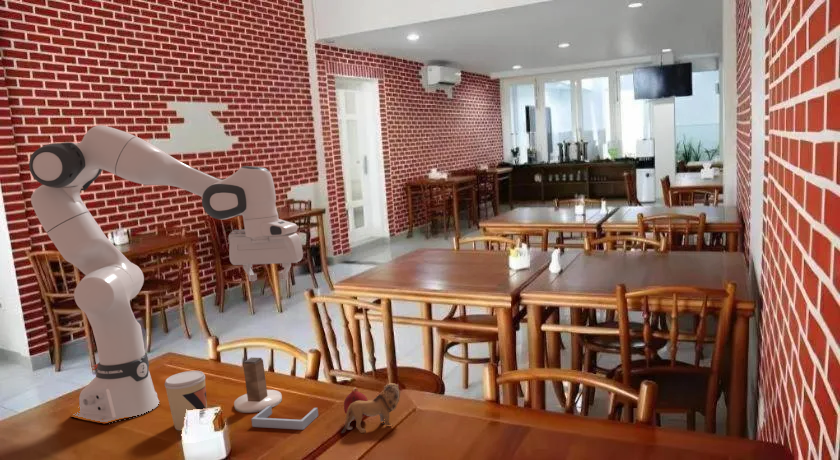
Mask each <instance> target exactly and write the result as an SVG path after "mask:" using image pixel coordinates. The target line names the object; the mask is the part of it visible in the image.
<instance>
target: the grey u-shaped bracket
mask: <svg viewBox="0 0 840 460" xmlns="http://www.w3.org/2000/svg"><path fill="white" fill-rule="evenodd" d="M272 414H273V410H272V408H271V406H267V407H266V408H265V409H263V410H262V411H260V412H259V413H258V412H257V414H255V415H254V416H253V417H252V418H251V419H250V420H251V426H252V428H268V429H285V430H299V431H301V430H305V429H306V428H307V427H308V426H309V425H310V424H311V423H312V422H314V420H315V419H316V418H317V417H319V409H318V407H313V408H312V409H311V410H310V411H309V412H308V413H307V414H306V415H305V416H304V417H302V418H301V419H296V418H295V419H294V418H293V419H290V418H275V417H274V418H272V417H270V416H272Z"/></svg>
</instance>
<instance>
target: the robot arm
mask: <svg viewBox="0 0 840 460" xmlns="http://www.w3.org/2000/svg"><path fill="white" fill-rule="evenodd" d="M28 167H29V168H28V169H29V171H30V174H31V175H32V177H33V179H34V180H36V181H37V182H38V183H40V184H41V185H40V186H38V187H37V188H36V189H35V190H34V191H33V192H32V194H31V196H30V203H31V206H32V208H33V210H34V213H35V214H36V217H37V219H38V221H39V223H40V224H41V226H42V228H43V230H44V232H45V233H46V235H47V236H48V238H49V239H50V240H51V242H52V244H54V246H55V248H56V249H57V250H58V252H59V253H60V255H61V257H62V258H63V259H64V260H65V261H66V262H67V263H69V264H71V265H73V266H74V267H76V268H77V269H78V270H79V271H80V272H81V273H82V274H83V275H85V276H84V277H83V278H82V279H81V280H80V281H79V282H78V284H76V287H75V289H74V294H73V297H74V301H75V303H76V305H77V307H78V308H79V309H80V310H81V311H82V312H84V313H85V315H86V318H87V320H88V322H89V324H90V326H91V329H92V331H93V335H94V339H95V343H96V349H97V354H98V363H96V364H93V365H92V366H91V368H92V369H91V370H92V371H94V370H96V372H95V377H94V378H93V379H92V380H91V381H90V382H89V383H88V384H87V385H86V386H85V387H84V388H83V389H82V390H81V391H80V393H79V397H78V399H79V407H80V411H79V412H80V413H78V412H77V414H76V413H75V414H76V415H75V414H73V415H75V416H78V417H83V418H86V419H91V420H95V421H100V422H108V421H111V420H115V419H119V418H124V417H132V416H136V417H138V416H137V415H139V416H142V415H144V413H145V414H147V413H149V412H151V411H153V410H155V409H156V408H157V407H159V405H160V403H159V402H160V400H159V398H158V393H157V391H156V390H155V386H154V383H153V380H152V376H151V372H150V369H149V368H150V363H149V356H148V354H147V352H146V350H145V343H144V336H143V331H142V326H141V323H140V322H139V321H137V319H136V317H135V314H134V312H133V310H132V307H131V301H132V299H134V298H135V297H136V296H138V294H139V293H140V291H141V289H142V287H143V285H144V283H145V276H144V273H143V271H142V270H141V268H140V266H138V265H137V264H135V263H133V262H132V261H130V260H129V259H128V258H127V257H126V256H125V254H123V253H122V252H121V250H119V249H118V248H117V247H116V246H115V244H113V243H112V242H111V240H110V239H109V238H108V237H107V236H106V234H105V232H104V231H103V230H102V228H101V227H100V225H99V224H98V222H97V221H96V219H95V218H94V216H93V215H92V214H91V212H90V210H89V209H88V207H87V206H86V204H85V203H84V202H83V199H82V198H81V197H82V196H81V192H83V191H86V190H87V189H88V188H89V187H90V186H91V185H92V184H93V182H94V181H95V180H96V179H97V178H99V176H100V175H101V174H102V172H103V171H106V172H108V173H111V174H113V175H115V176H116V177H119V178H121V179H124V180H127V181H129V182H132V183H135V184H139V185H145V186H171V187H176V188H178V189H182V190H185V191H187V192H190V193H191V194H194V195H197V196H199V197H201V204H202V205H201V206H202V208H203V210H204V212H205V213H206V215H208V216H209V217H211V218H213V219H216V220H221V221H222V220H228V219H232V218H237V217H241V216H242V219H243V226H244V228H243V229H233V230H232V231H231V232H230V233H229V235H228V242H229V247H228V248H229V261H230V263H231V264H232V265H233V266H242V268H243V269H242V270H244V272H245V273H246V274H247V276H248V281H249V282H256V281H257V280H258V277H257V276H258V273H255V272H254V270H253V269H252V267H253V265H271V264H273V265H275V264H281V265H282V266H281V267H282V268H283V270H282V273H279V277H280V278H279V279H280V281H287V280H289V271H290V269H291V267H292V264H296V263H298V262H301V261H302V259H303V257H304V250H303V245H302V240H301V238H300V235H299V234H298V233H296V232H298V225H297V224H296V223H294V222H291V221H288V220H284V219H281V218H279V213H278V211H277V208H276V207H277V206H276V202H277V195H276V188H275V183H274V178H273V176H272V173H271V172H270V171H271V170H269V169H267V168H265V167H262V166H255V165H254V166H253V165H250V166H249V165H243V166H241V167H239V168H238V170H236V172H234V173H233V174H231V175H229V176H228V177H226V178H224V179H223V178H219V177H215V176H213V175H211V174H208V173H206V172H204V171H201V170H199V169H197V168H194V167H193V166H190V165H188V164H186V163H183V162H182V161H180V160H178V159H176V158H175V157H173V156H171V155H170V154H169V153H167V152H165V151H164V150H162V149H160V148H159V147H158V146H156V145H154V144H152V143H151V142H148V141H147V140H144V139H143V138H141V137H138V136H137V135H134V134H132V133H129V132H127V131H124V130H121V129H119V128H118V129H117V128H114V127H111V126H107V125H94V126H93V127H91V128H89V129H88V130H87V131H86V133H85V134H84V135H83V137H82V140H81V141H79V142H73V141H71V142H69V141H65V142H56V143H50V144H49V143H48V144H46V145H45V144H44V145H43V146H41V147H39V148H38V149H36V150H34V152H33V153H32V154H31V155H30V158H29V162H28ZM158 404H159V405H158ZM152 409H153V410H152ZM148 411H149V412H148ZM146 412H147V413H146ZM78 414H79V415H78ZM141 414H142V415H141ZM102 419H103V420H102Z"/></svg>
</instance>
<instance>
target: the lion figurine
mask: <svg viewBox="0 0 840 460" xmlns="http://www.w3.org/2000/svg"><path fill="white" fill-rule="evenodd" d="M399 387H400V386H399V384H396V383H393V382H390V383H387V384H386V385H384V386H383V390H382V391H381V392H380V393H379V394H378V395H377V396H376V397H375V398H374V399H370V400H368V401H355V402H353V403H352V404H350V406H349V407H348V409H347V413H345V423H344V427H343V429H342V430H341V434H344V433H346V431H347V430H348V431H349V430H353V425H350V424H351V422H352V421H355V420H356V421H355V428H356V429H357V430H358V431H359V432H360V433H362V434H365V433H366V432H367V430H366V429H365V428H362V425H361V423H362V419H363V418H362V414H364V415H365V416H366V417H376V416H379V418H380V420H379V421H380V422H382V421H383V422H384V421H385V423H384V424H385V426H386V425H391V424H392V423H391V424H390V416H391V415H390V413H392V412H393V411H396V410H395V409H397V406H398V404H399V402H400V397H401V390H400V388H399ZM350 411H351V413H350ZM349 413H350V416H349ZM354 419H355V420H354ZM384 419H385V420H384Z"/></svg>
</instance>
